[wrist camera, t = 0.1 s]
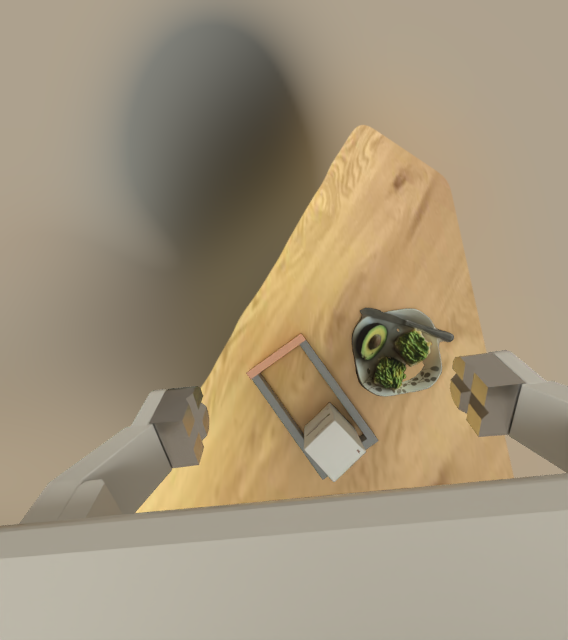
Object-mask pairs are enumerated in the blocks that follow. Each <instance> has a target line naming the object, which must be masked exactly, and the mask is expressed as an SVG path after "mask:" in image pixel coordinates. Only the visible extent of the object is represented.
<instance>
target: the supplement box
mask: <svg viewBox="0 0 568 640" xmlns="http://www.w3.org/2000/svg"><path fill="white" fill-rule="evenodd" d="M304 450H305V451H306V452H307V453H308V454H309V456H310V457H311V458H312V459H313V460H314V461H315V462H316V463H317V464H318V465H319V467H320V468H321V469H322V470H323V471H324V472H325V473H326V474H327V475H328V477H329V478H330V479H331V480H332V481H333V482H335V481H336V480H337V479H338V478H339V477H340V476H341V475H343V474H344V473H345V472H346V471H347V470H348V469H349V468H350V467H351V466H352V465H353V464H354V463H355V462H356V461H357V460H358V459H359V458H360V457H361V456H362V455H363V454H365V453H366V450H365V448H364V446H363V444H362V442H361V440H360V438H359V436H358V434H357V432H356V430H355V428H354V427H353V426H352V425H351V424H350V423H349V422H348V421H347V420H346V419H345V418H344V416H343V415H342V414H341V413H340V412H339V411H338V410H337V409H336V408H335V407H334V406H333V405H332V404H331V403H330V402H329V403H328V404H327V405H326V406H325V407H324V408H323V409H322V410H321V411H320V412H319V413H318V414H317V415H316V416H315V417H314V418H313V419H312V420H311V421H310V422H309V423H308V424H306V425H305V426H304Z"/></svg>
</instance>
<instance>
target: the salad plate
mask: <svg viewBox="0 0 568 640" xmlns="http://www.w3.org/2000/svg"><path fill="white" fill-rule="evenodd" d="M360 312H361V314H362V318H361V320H360V321H359V323H358V324H357V325H356V327H355V329H354V332H353V335H352V345H353V353H354V358H355V364H356V373H357V376H358V380H359V382H360V384H361V385H362V386H363V387H364V388H365V389H367V390H368V391H370V392H372V393H373V394H375V395H378V396H393V395H398V394H404V393H409V392H416V391H420V390H424V389H427V388H429V387H431V386H432V385H433V384H434V383H435V382H436V381H437V379H438V378H439V376H440V375H441V372H442V363H441V356H440V351H439V343H440V342H441V341H446V342H451V341H452V340H453V339H454V336H453V334H451V333H448V332H445V331H441V330H438V329H436V328H435V326H434V324H433V323H432V321H431V319H430V318H429V317H428V316H426V315H425V314H424V313H422V312H421V311H419V310H416V309H400V310H395V311H389V312H384V313H383V312H381V311H380V310H377V309H372V308H364V309H363V310H360ZM397 329H399V330H400V331H399V332H398V331H397ZM388 357H390V358H388ZM421 361H423V364H424V367H423V368H422V370H421V371H420V373H418V374H417V375H416V376H415V377H414V378H411V379H410V380H407V381H404V382H402V381H403V379H405V378H406V374H404V371H405V370H406V366H405V365H406V364H408V365H409V366H410V367H412V366H414V365H416V364H418V363H420V362H421Z"/></svg>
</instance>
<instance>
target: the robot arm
mask: <svg viewBox="0 0 568 640" xmlns="http://www.w3.org/2000/svg"><path fill="white" fill-rule="evenodd" d="M452 368H453V370H454V371H455V372H456V374H455V375H454V377H453V378H452V379H451V383H450V391H451V396H452V399H453V401H454V403H455V405H456V406H457V408H458V409H459V410H461V411H463V412H465V413H467V418H466V420H467V422H468V423H469V424H470V426H471V427H472V429H473V430H474V431H475V433H476V434H477V436H478V437H483V436H497V435H509V436H510V437H511V438H513V439H515V440H516V441H518V442H519V443H521V444H522V445H524V446H526V447H527V448H529V449H530V450H532V451H533V452H535V453H537V454H538V455H540V456H541V457H543V458H544V459H546V460H548V461H549V462H551V463H552V464H554V465H556V466H557V467H559V468H560V469H562V470H563V471H565V472H566V473H565V474H555V475H544V476H533V477H523V478H511V479H500V480H490V481H479V482H468V483H457V484H446V485H435V486H425V487H414V488H403V489H392V490H381V491H370V492H359V493H349V494H338V495H327V496H316V497H305V498H295V499H284V500H273V501H263V502H252V503H241V504H231V505H220V506H209V507H198V508H187V509H176V510H165V511H154V512H144V513H135V512H136V511H137V510H138V509H139V507H140V506H141V505H142V504H143V503H144V502H145V501H146V499H147V498H148V497H149V496H150V495H151V494H152V492H153V491H154V490H155V489H156V488H157V487H158V485H159V484H160V483H161V482H162V481H163V480H164V479H165V477H166V476H167V475H168V474H169V473H170V472H171V470H172V468H178V467H186V466H193V465H199V463H200V459H201V456H202V452H203V449H204V446H203V443H202V440H203V439H204V438H205V437H206V436H207V434H208V430H209V415H208V410H207V407H206V406H205V405H204V404H202V403H201V401H202V398H203V395H202V392H201V389H200V388H199V387H198V386H193V387H183V388H172V389H162V390H154V391H152V392H150V394H149V395H148V397H147V399H146V401H145V402H144V404H143V406H142V407H141V409H140V411H139V413H138V414H137V416H136V418H135V420H134V421H133V423H132V425H131V426H130V427H125V428H124V429H122V430H121V431H120V432H118V433H117V434H116V435H114V436H113V437H111V438H110V439H109V440H107V441H106V442H105V443H103V444H102V445H100V446H99V447H98V448H97V449H95V450H94V451H92V452H91V453H89V454H88V455H87V456H85V457H84V458H83V459H81V460H80V461H78V462H77V463H76V464H74V465H73V466H72V467H70V468H69V469H67V470H66V471H65V472H63V473H62V474H61V475H59V476H58V477H56V478H55V479H54V480H52V481H51V482H50V483H48V485H47V486H46V488H45V489H44V490H43V492H42V493H41V495H40V496H39V497H38V499H37V500H36V502H35V503H34V504H33V506H32V507H31V508H30V510H29V511H28V512H27V514H26V515H25V517H24V518H23V519H22V521H21V522H20V523H19V524H14V525H3V526H0V640H568V386H566V385H563V384H560V383H557V382H554V381H548V382H547V381H546V380H545V379H543V378H542V377H541V376H540V375H538V374H537V373H536V372H535V371H534V370H533V369H531V368H530V367H529V366H528V365H527V364H525V363H524V362H523V361H522V360H520V359H519V358H518V357H517V356H516V355H514V354H513V353H512V352H510V351H507V350H502V351H495V352H489V353H485V354H476V355H468V356H459V357H455V359H454V361H453V366H452Z"/></svg>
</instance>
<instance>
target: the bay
mask: <svg viewBox="0 0 568 640" xmlns="http://www.w3.org/2000/svg"><path fill="white" fill-rule="evenodd" d="M299 344H300V346H301V347H302V349H303V350H304V351H305V353H306V354H307V356H308V357H309V358H310V360H311V361H312V363H313V364H314V365H315V367H316V368H317V370H318V371H319V372H320V374H321V375H322V376H323V378H324V379H325V381H326V382H327V383H328V385H329V386H330V388H331V389H332V390H333V392H334V393H335V395H336V396H337V397H338V399H339V400H340V401H341V403H342V404H343V406H344V407H345V408H346V410H347V411H348V413H349V414H350V415H351V417H352V418H353V420H354V421H355V422H356V424H357V425H358V426H359V428H360V429H361V431H362V432H363V433H364V434H363V435H361V436H360V437H359V438H360V440H361V442H362V444H363V446H364V448H365V450H366V449H368V448H369V447H370V446H372V445H373V444H375V443H376V442H378V439H377V438H376V436H375V435H374V433H373V432H372V431H371V429H370V428H369V427H368V425H367V424H366V422H365V421H364V420H363V418H362V417H361V415H360V414H359V413H358V411H357V410H356V409H355V407H354V406H353V404H352V403H351V402H350V400H349V399H348V397H347V396H346V395H345V393H344V392H343V390H342V389H341V388H340V386H339V385H338V384H337V382H336V381H335V379H334V378H333V377H332V375H331V374H330V372H329V371H328V370H327V368H326V367H325V366H324V364H323V363H322V361H321V360H320V359H319V357H318V356H317V354H316V353H315V352H314V350H313V349H312V348H311V346H310V345H309V343H308V342H307V341H306V339H305V338H304V336H303V335H302V334H299V335H298V336H297V337H295V338H294V339H293V340H291V341H290V342H288V343H287V344H286V345H284V346H283V347H281V348H280V349H279V350H277V351H276V352H274V353H273V354H272V355H270V356H269V357H268V358H266V359H265V360H263V361H262V362H261V363H259V364H258V365H256V366H255V367H254V368H252V369H251V370H249V371H248V372H247V373H246V374H247V375H248V376H249V378H250V379H252V380H253V382H254V383H255V384H256V386H257V387H258V389H259V390H260V392H261V393H262V394H263V396H264V397H265V399H266V400H267V401H268V403H269V404H270V406H271V407H272V409H273V410H274V411H275V413H276V414H277V416H278V417H279V419H280V420H281V421H282V423H283V424H284V426H285V427H286V428H287V430H288V431H289V433H290V434H291V436H292V437H293V438H294V440H295V441H296V443H297V444H298V446H299V447H300V448H301V450H302V451H303V453H304V454H305V455H306V457H307V458H308V460H309V461H310V463H311V464H312V465H313V467H314V468H315V470H316V471H317V473H318V474H319V475H320V477H321V478H322V480H323V479H325V478H326V477H328V475H327V474H326V473H325V472H324V471H323V470H322V469H321V468H320V467H319V465H318V464H317V463H316V462H315V461H314V460H313V459H312V458H311V457H310V456H309V454H308V453H307V452H306V451H305V450H304V434H303V433H302V431H301V430H300V428H299V427H298V426H297V424H296V423H295V421H294V420H293V418H292V417H291V416H290V414H289V413H288V411H287V410H286V409H285V407H284V406H283V404H282V403H281V401H280V400H279V399H278V397H277V396H276V394H275V393H274V392H273V390H272V389H271V387H270V386H269V384H268V383H267V382H266V380H265V379H264V377H263V376H262V375H261V373H260V372H262V371H263V370H265V369H266V368H267V367H269V366H270V365H272V364H273V363H274V362H276V361H277V360H279V359H280V358H281V357H283V356H284V355H285V354H287V353H288V352H290V351H291V350H292V349H294V348H295V347H297V346H298V345H299Z"/></svg>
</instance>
